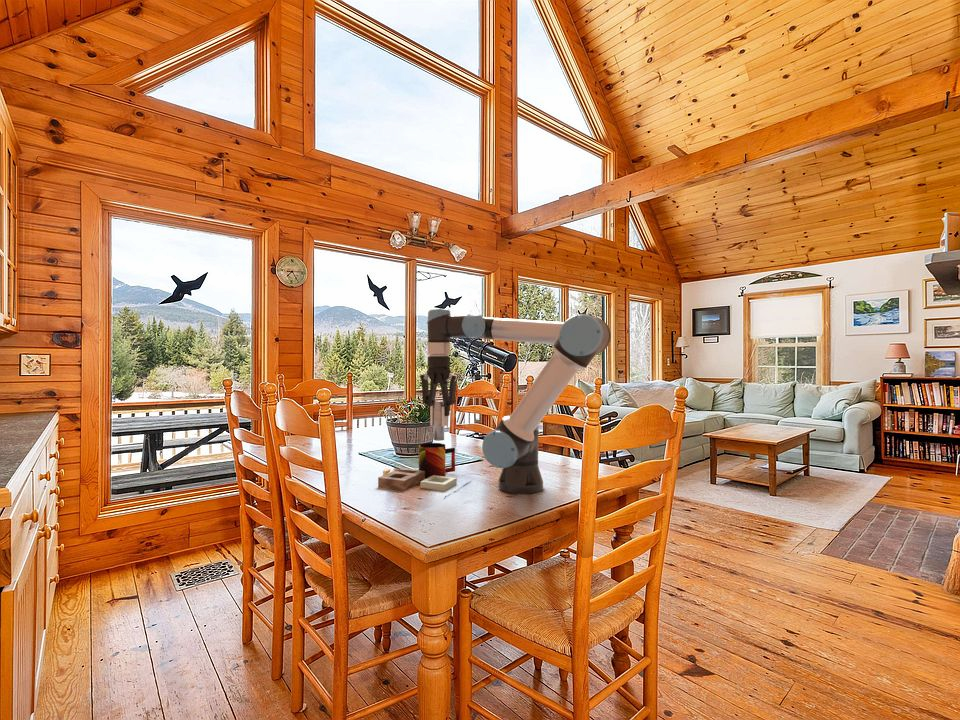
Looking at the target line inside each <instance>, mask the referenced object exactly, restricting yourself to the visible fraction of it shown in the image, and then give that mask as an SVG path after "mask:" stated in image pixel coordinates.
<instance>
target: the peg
mask: <svg viewBox="0 0 960 720" xmlns="http://www.w3.org/2000/svg"><path fill="white" fill-rule="evenodd" d="M443 405H444V403H443V399H442V400H441V399H440V400H436V399H435V401H434V405H433V406H434V425H433V427H432V428H433V436H432V437H433V441H438V442H439V441H445V426H442V407H443Z"/></svg>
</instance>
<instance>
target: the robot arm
mask: <svg viewBox="0 0 960 720" xmlns="http://www.w3.org/2000/svg"><path fill="white" fill-rule="evenodd" d="M426 324H427V355H428V356H427V371H426V372H425V373H423V374H420V375H419V378H420V381H421V391H422V392H421V393H422V403H423V404H425V405H427V409H428V410H427V414H428V416H430V422H429V424H430V425H429V426H431V427H432V426H434V401H436V394H437V387H438V385H439V387H440V389H441V396H442V401H443V403H444V405H443V407H442V426H444V427H446V426H448V417H449V416H450V411H451V408H450V407H451V406H452V405H455V404H456V395H457V393H456V391H457V381H458V379H459V375H457V374H454V373H452V371H451V369H450V367H451V357H450V354H451V338H452V339H453V338H456V339H457V338H458V339H459V338H462V339H463V338H465V339H468V338H469V339H483V340H495V341H505V342H506V341H509V342H518V343H529V344H541V345H549V346H550V345H552V348H553V354H552V355H551V357H550V358H549V360H548V361H547V362H546V364H545V365H544V367H543V368H542V370H541V371H540V373H539V374H538V375H537V377H536V378H535V379H534V381H533V382H532V384H531V385H530V387H529V388H528V390H527V391H526V392H525V394H524V395H523V397H522V398H521V400H520V401H519V402H518V404H517V405H516V407H515V408H514V410H513V411H512V413H511V414H510V415H504V416H503V417H502V419H500V421H499V422H498V424H497V425H496V427H495V429H493V430H491V431H490V432H488V433H487V434H486V435H485V436H484V438H483V440H482V444H481V450H482V453H483V456H484V458H485V460H486V461H487V462H488V463H489V464H490V465H491V466H493V467H495V468H498V469H501V472H500V476H499V477H498V489H499V490H501V491H503V492H505V493H511V494H520V495H521V494H522V495H523V494H524V495H526V494H535V493H539V492H541V491H543V490H544V480H543V477H542V473H541V471H540V467H539V433H540V430H539V424H540V423H541V421H543V419H544V418H545V416H546V415H547V413H548V412H549V410H550V409H551V408H552V407H553V405H554V404H555V402H556V401H557V400H558V398H559V397H560V396H561V394H562V392H563V391H564V390H565V389H566V388H567V386H568V385H569V383H570V381H572V379H573V377H575V374H576V373H577V372H578V371H579V370H584V369H586V368H587V367H588V366H589V364H590V363H591V362H592V360H593V359H594V358H595V356H596V355H599V354H600V353H602V352H604V351H605V350H606V349H607V348H608V346H609V345H610V342H611V339H612V332H611V329H610V326H609V325H608V324H607V322H605V320H603V319H601V318H599V317H596V316H592V315H591V314H584V313H580V314H576V315H573V316H571V317H569V318H567V319H566V320H565V321H564V322H563V321H550V320H549V321H548V320H547V321H546V320H536V319H534V320H533V319H517V318H502V317H501V318H500V317H491V316H490V317H489V316H483V315H481V314H477V313H469V314H451V310H450V309H447V308H432V309H429V311H428V312H427V322H426ZM429 380H430V381H429ZM448 380H449V383H448ZM448 386H449V388H448Z"/></svg>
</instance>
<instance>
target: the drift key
mask: <svg viewBox="0 0 960 720" xmlns="http://www.w3.org/2000/svg"><path fill="white" fill-rule="evenodd" d="M390 472H391V469H390V468H387V469H384V470H383V471H382V476H383V475H386V474H388V473H390Z"/></svg>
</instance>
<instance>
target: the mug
mask: <svg viewBox="0 0 960 720" xmlns="http://www.w3.org/2000/svg"><path fill="white" fill-rule="evenodd" d="M447 454H451V455H450V457H451V462H450V463H451V464H450V465H451V466H450V467H446V455H447ZM418 470H421V471H425V479H427V478H429V477H431V476H433V475H436V476H445V477H446V474H448V473H452V472H456V448H455V447H449V448H446V444H445V443H441V442H425V443H421V444H418Z"/></svg>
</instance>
